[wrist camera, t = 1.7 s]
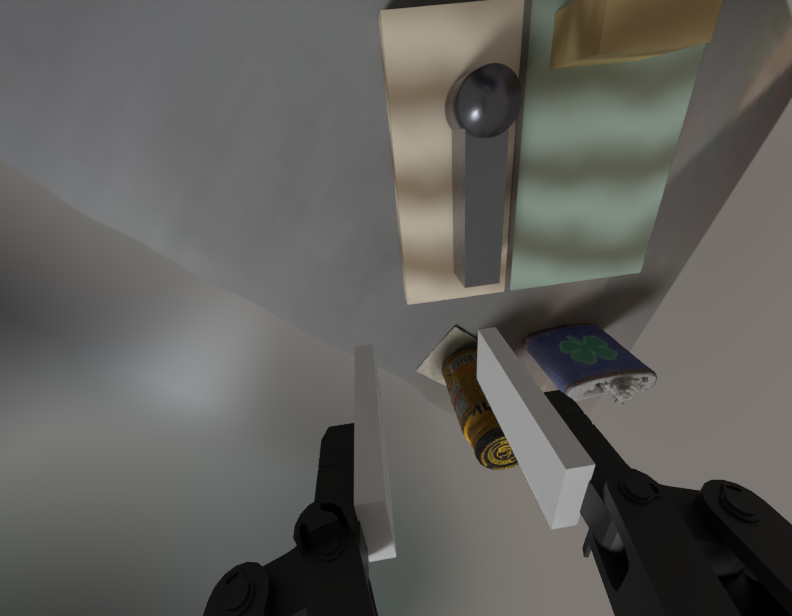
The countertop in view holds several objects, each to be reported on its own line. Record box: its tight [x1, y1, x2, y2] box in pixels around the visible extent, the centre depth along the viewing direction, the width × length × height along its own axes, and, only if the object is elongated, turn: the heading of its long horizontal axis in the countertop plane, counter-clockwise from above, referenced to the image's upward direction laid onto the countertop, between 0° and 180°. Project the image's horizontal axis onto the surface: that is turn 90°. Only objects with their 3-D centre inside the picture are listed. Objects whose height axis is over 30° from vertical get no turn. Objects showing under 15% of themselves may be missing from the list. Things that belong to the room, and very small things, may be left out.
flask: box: [524, 322, 657, 406], centre depth 33 cm, size 9×3×11 cm, turn 97°
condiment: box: [416, 327, 519, 470], centre depth 33 cm, size 7×8×12 cm
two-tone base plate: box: [379, 0, 723, 305], centre depth 25 cm, size 22×24×8 cm
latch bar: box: [445, 63, 522, 288], centre depth 25 cm, size 15×4×4 cm, turn 6°
